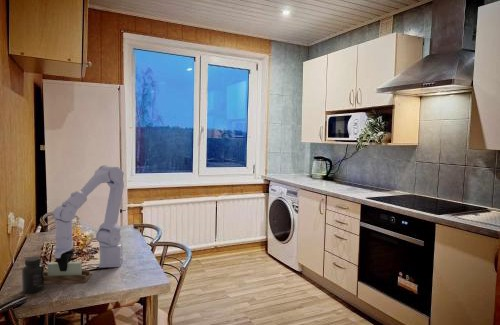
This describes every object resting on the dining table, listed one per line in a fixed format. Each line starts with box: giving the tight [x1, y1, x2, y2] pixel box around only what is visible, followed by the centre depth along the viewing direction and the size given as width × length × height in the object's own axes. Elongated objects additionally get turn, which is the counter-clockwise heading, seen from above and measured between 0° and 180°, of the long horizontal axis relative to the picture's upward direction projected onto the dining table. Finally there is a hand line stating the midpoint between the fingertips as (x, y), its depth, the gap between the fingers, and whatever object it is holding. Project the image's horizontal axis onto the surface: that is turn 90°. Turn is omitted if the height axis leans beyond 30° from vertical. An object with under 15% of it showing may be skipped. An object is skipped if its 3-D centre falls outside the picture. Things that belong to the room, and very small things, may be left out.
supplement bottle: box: [21, 256, 45, 295], centre depth 127 cm, size 7×7×12 cm
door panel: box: [46, 261, 83, 276], centre depth 137 cm, size 12×2×6 cm, turn 99°
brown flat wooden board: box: [44, 269, 93, 285], centre depth 137 cm, size 18×8×2 cm, turn 99°
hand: (64, 269), depth 137 cm, fingers closed on door panel, 2 cm apart
